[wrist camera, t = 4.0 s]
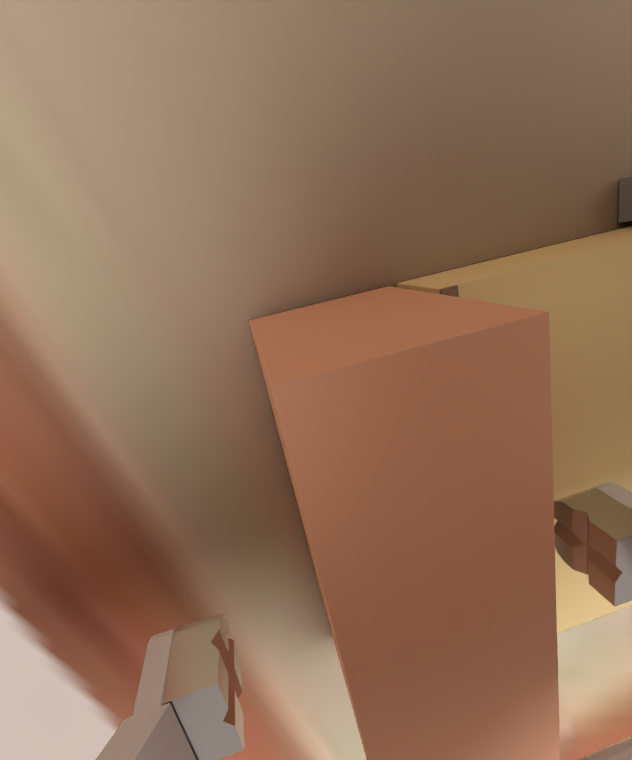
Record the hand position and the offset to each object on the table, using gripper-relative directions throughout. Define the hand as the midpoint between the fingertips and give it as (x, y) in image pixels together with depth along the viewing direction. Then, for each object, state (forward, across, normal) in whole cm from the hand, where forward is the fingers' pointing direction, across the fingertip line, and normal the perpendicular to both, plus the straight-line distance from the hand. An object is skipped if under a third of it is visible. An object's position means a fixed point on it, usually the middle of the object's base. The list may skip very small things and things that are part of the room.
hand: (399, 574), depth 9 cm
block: (+4, 0, 0) cm, 4 cm away
